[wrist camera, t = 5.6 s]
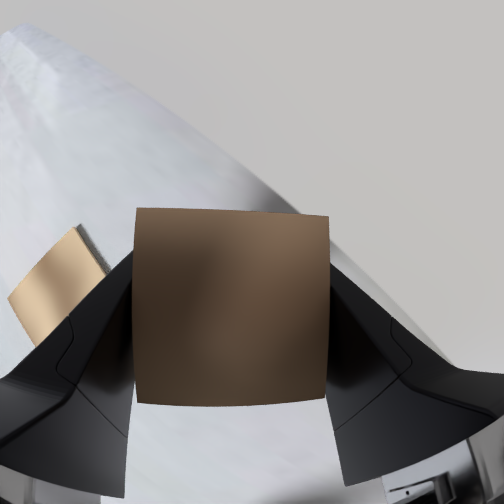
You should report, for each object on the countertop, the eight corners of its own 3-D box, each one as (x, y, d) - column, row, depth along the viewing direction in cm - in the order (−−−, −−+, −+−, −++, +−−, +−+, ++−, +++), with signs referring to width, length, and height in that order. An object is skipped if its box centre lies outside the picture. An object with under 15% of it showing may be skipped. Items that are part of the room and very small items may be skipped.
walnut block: (263, 341, 15) (324, 397, 7) (171, 340, 14) (137, 402, 6) (264, 251, 16) (328, 216, 7) (172, 248, 15) (137, 207, 7)
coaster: (70, 388, 19) (67, 390, 18) (10, 298, 19) (7, 298, 18) (144, 324, 21) (143, 325, 20) (76, 227, 21) (73, 226, 20)
